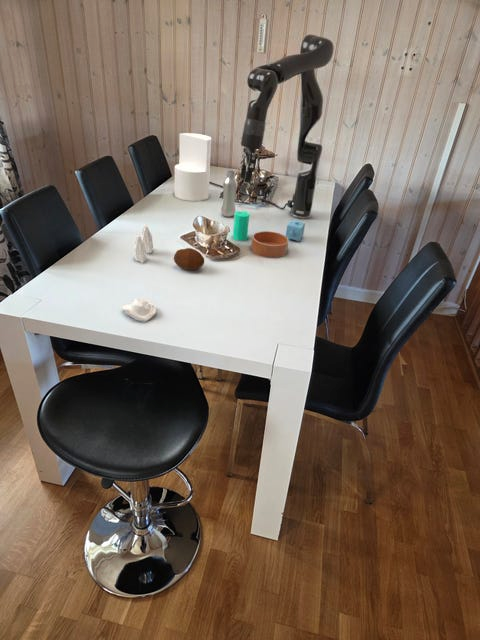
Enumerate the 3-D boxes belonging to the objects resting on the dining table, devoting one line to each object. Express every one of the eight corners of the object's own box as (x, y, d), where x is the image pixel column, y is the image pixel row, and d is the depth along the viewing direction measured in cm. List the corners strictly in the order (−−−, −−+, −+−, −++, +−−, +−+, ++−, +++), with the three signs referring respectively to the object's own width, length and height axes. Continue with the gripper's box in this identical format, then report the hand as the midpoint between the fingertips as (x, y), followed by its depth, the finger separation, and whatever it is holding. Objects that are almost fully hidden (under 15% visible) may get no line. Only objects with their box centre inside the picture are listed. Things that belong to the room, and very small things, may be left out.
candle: (249, 236, 182) (251, 209, 176) (244, 241, 178) (247, 213, 171) (235, 233, 184) (237, 206, 177) (230, 238, 179) (233, 210, 172)
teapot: (297, 245, 179) (300, 228, 175) (283, 242, 180) (285, 225, 176) (303, 235, 189) (306, 219, 185) (289, 233, 190) (292, 216, 186)
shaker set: (145, 248, 164) (144, 220, 158) (156, 250, 164) (155, 222, 158) (132, 261, 154) (130, 232, 148) (143, 263, 154) (142, 234, 148)
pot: (244, 244, 175) (246, 233, 173) (275, 241, 181) (277, 229, 178) (261, 259, 165) (263, 247, 162) (293, 255, 171) (295, 243, 168)
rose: (117, 308, 120) (124, 290, 128) (118, 321, 123) (125, 303, 131) (154, 310, 121) (158, 292, 129) (154, 323, 124) (158, 305, 132)
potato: (175, 261, 157) (175, 242, 153) (205, 264, 158) (206, 245, 153) (171, 272, 150) (171, 252, 146) (203, 275, 150) (203, 255, 146)
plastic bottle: (218, 216, 200) (221, 171, 189) (224, 212, 205) (227, 168, 194) (231, 219, 198) (234, 174, 187) (237, 215, 203) (240, 171, 192)
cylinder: (190, 188, 232) (191, 131, 216) (215, 196, 224) (218, 138, 209) (167, 194, 219) (167, 135, 204) (193, 203, 212) (195, 142, 196)
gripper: (268, 137, 149) (258, 185, 156) (259, 133, 161) (251, 178, 168) (246, 133, 147) (238, 182, 154) (239, 129, 159) (232, 175, 166)
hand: (245, 180), depth 161 cm, fingers open, 8 cm apart
